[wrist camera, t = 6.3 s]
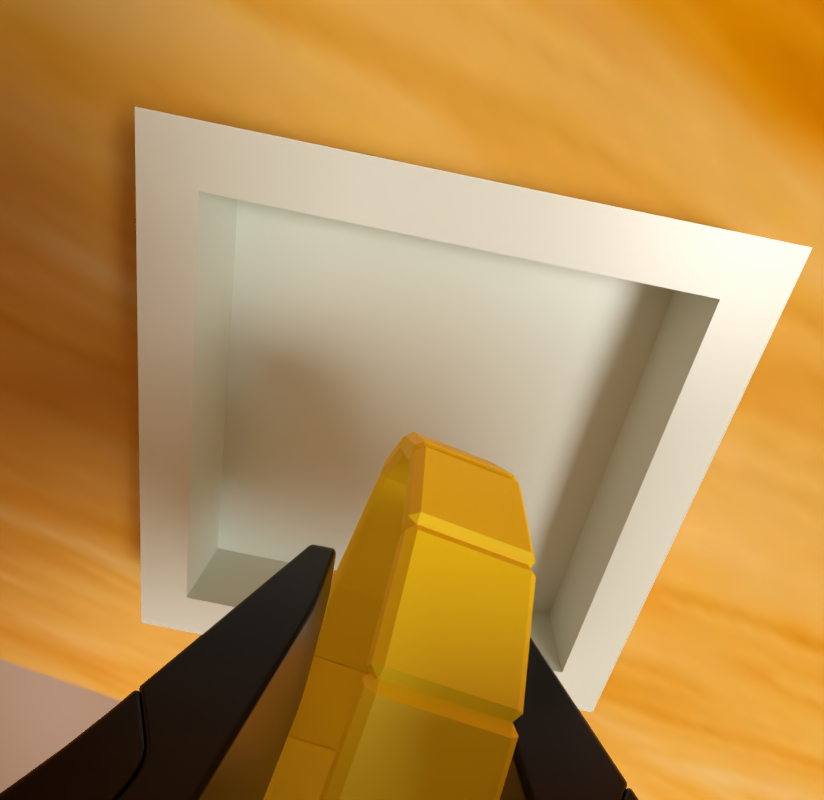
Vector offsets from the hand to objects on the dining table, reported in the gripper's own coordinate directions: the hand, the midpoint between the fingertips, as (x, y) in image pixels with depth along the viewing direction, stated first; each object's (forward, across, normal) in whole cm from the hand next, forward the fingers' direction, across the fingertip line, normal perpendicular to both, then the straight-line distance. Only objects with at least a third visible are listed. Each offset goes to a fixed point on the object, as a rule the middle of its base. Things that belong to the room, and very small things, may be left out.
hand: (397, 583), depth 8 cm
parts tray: (+6, 0, 0) cm, 6 cm away
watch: (+1, 0, 0) cm, 1 cm away
